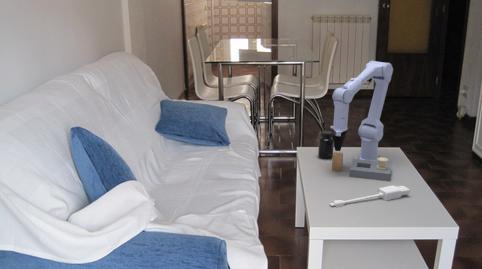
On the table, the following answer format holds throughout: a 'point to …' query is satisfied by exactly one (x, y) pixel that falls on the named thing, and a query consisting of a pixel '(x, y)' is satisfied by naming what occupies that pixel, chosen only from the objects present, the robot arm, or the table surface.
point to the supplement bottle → (326, 145)
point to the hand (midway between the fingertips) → (338, 148)
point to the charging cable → (379, 194)
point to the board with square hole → (371, 169)
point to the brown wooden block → (337, 161)
